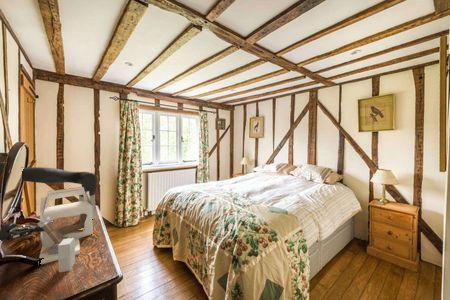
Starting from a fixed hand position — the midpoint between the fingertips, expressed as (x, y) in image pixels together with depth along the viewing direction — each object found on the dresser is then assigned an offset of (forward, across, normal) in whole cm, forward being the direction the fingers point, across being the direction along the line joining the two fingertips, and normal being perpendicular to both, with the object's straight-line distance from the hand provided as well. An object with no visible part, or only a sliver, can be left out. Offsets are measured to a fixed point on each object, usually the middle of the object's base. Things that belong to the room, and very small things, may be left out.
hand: (46, 228), depth 96 cm
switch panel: (+6, 0, +13) cm, 14 cm away
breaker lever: (+6, 0, +8) cm, 9 cm away
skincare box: (+14, -15, +13) cm, 24 cm away
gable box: (+2, +17, +13) cm, 22 cm away
